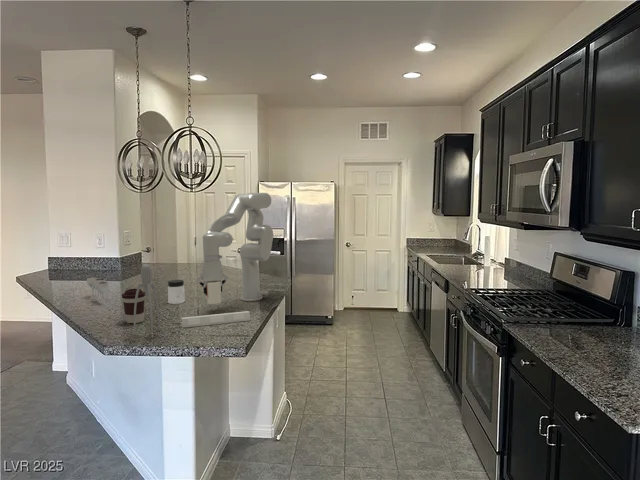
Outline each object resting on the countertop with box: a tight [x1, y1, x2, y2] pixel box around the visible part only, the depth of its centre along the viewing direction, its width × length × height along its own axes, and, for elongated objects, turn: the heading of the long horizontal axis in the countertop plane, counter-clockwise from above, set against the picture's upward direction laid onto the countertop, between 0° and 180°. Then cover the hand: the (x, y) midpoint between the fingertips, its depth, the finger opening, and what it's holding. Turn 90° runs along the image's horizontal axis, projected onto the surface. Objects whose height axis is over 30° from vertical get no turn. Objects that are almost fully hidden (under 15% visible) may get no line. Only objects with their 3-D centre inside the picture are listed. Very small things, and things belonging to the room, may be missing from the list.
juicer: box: [133, 263, 161, 339], centre depth 181 cm, size 10×9×30 cm
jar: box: [167, 279, 186, 305], centre depth 240 cm, size 9×8×12 cm
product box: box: [205, 281, 222, 305], centre depth 217 cm, size 6×11×10 cm, turn 21°
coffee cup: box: [121, 288, 146, 324], centre depth 202 cm, size 10×10×15 cm
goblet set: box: [86, 275, 110, 306], centre depth 246 cm, size 28×6×13 cm, turn 41°
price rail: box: [181, 310, 251, 329], centre depth 198 cm, size 30×2×4 cm, turn 111°
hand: (213, 293), depth 218 cm, fingers closed on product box, 6 cm apart
